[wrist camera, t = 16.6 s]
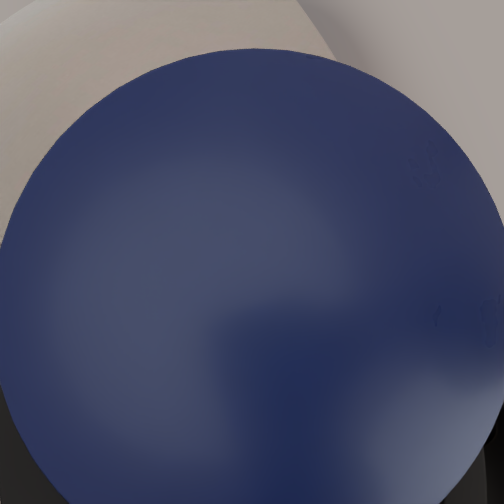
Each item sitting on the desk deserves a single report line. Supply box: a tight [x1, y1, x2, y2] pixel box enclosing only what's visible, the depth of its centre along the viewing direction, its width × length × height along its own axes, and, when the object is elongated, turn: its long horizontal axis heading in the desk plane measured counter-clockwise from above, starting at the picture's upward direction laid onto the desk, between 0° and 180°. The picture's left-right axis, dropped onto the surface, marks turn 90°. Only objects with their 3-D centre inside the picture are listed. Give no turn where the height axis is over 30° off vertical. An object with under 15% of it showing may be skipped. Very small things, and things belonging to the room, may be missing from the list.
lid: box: [0, 48, 504, 504], centre depth 4 cm, size 8×8×2 cm
